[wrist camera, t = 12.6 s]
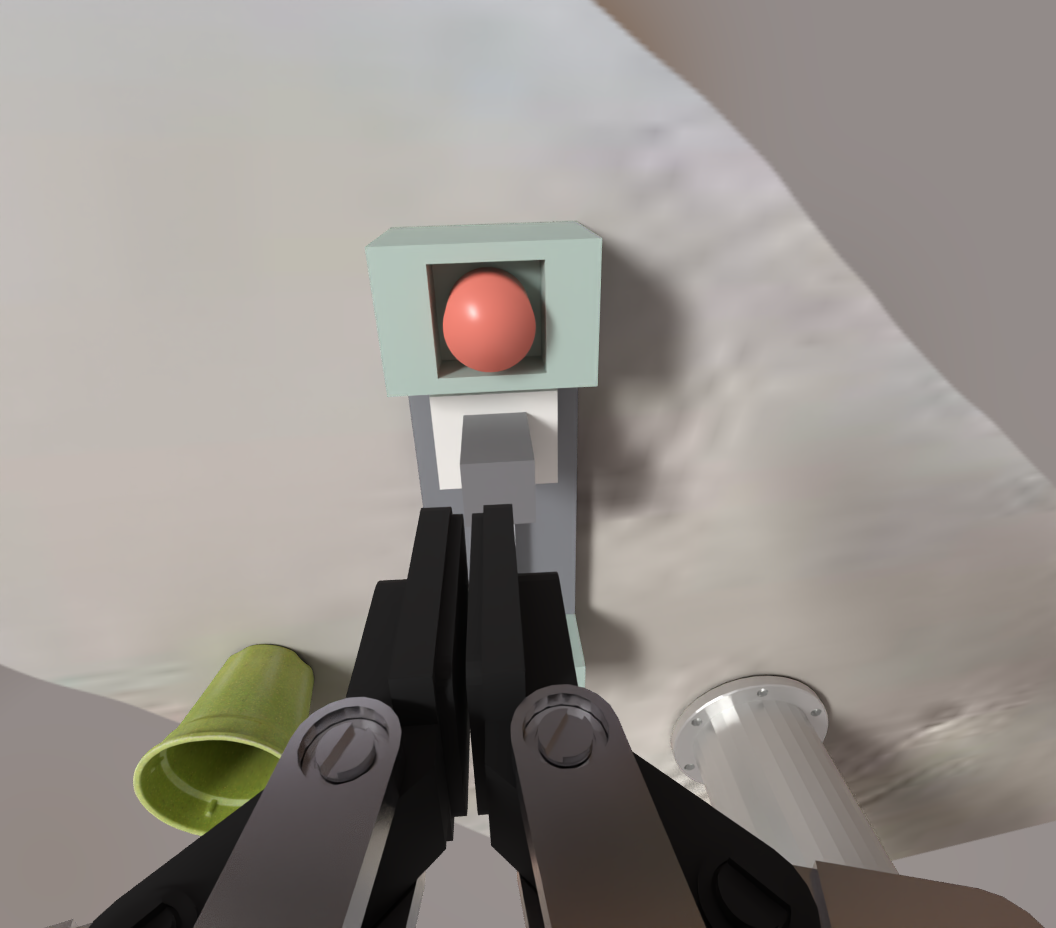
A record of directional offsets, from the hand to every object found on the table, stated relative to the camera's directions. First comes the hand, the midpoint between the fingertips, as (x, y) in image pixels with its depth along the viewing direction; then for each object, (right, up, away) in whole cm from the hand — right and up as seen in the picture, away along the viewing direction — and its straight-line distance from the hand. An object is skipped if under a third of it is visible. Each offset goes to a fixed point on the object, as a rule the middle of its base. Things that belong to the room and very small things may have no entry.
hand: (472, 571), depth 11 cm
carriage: (-1, +4, +19) cm, 19 cm away
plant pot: (-17, -13, +30) cm, 37 cm away
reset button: (-1, +9, +14) cm, 17 cm away
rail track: (-1, +1, +24) cm, 24 cm away
